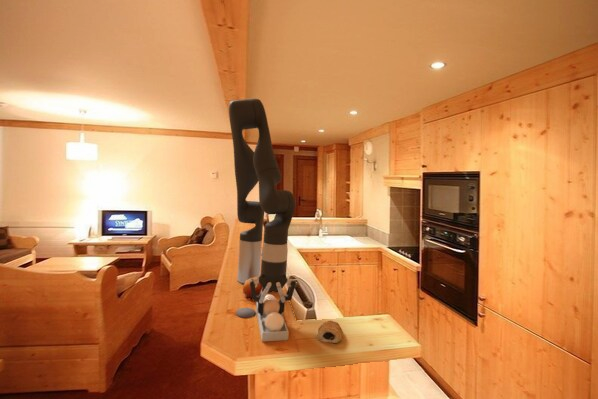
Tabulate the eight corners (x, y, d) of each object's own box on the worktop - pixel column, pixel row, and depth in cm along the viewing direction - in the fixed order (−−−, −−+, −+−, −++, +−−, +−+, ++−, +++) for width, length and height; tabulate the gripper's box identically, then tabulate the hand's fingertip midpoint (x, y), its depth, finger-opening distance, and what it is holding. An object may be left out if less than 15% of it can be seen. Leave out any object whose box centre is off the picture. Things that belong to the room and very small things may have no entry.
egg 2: (263, 326, 82) (264, 309, 81) (281, 326, 83) (282, 308, 83) (265, 336, 77) (266, 317, 76) (284, 335, 78) (285, 316, 78)
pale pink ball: (262, 319, 83) (263, 302, 82) (261, 311, 88) (262, 294, 87) (280, 319, 84) (281, 301, 83) (277, 311, 89) (279, 294, 88)
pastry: (321, 325, 87) (322, 313, 87) (343, 329, 85) (345, 317, 85) (316, 341, 78) (317, 328, 78) (341, 346, 76) (342, 332, 76)
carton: (256, 309, 94) (256, 302, 94) (277, 308, 96) (277, 301, 96) (261, 341, 76) (262, 332, 76) (288, 339, 77) (288, 331, 77)
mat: (235, 309, 93) (235, 308, 93) (254, 308, 95) (254, 307, 95) (236, 317, 88) (236, 316, 87) (255, 317, 89) (255, 315, 89)
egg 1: (259, 307, 94) (260, 291, 94) (275, 307, 95) (276, 291, 95) (260, 314, 89) (261, 298, 89) (277, 314, 90) (278, 298, 90)
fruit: (263, 298, 100) (254, 277, 101) (245, 306, 102) (236, 285, 103) (273, 290, 107) (264, 271, 108) (256, 298, 110) (247, 278, 111)
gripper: (250, 261, 79) (246, 321, 80) (301, 261, 83) (297, 318, 84) (249, 254, 87) (245, 309, 88) (295, 254, 90) (291, 307, 91)
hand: (270, 313), depth 86 cm, fingers closed on pale pink ball, 5 cm apart
